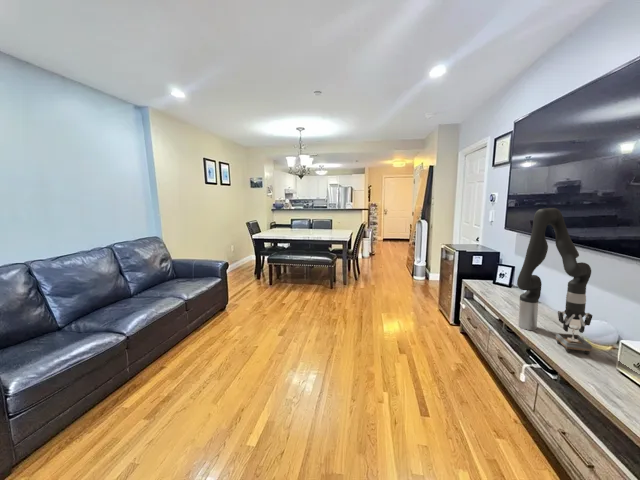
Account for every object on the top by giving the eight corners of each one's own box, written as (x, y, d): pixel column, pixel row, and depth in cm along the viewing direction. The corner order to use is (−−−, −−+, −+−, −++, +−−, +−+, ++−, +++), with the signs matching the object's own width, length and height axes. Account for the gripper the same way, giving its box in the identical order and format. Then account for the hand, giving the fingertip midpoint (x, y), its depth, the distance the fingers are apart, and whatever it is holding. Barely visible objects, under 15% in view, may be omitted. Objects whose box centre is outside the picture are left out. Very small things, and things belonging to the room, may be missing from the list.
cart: (555, 342, 154) (555, 332, 153) (577, 344, 151) (578, 334, 150) (566, 353, 142) (567, 343, 142) (591, 355, 139) (591, 345, 139)
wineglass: (564, 339, 146) (566, 318, 145) (566, 336, 150) (567, 314, 149) (579, 343, 142) (581, 321, 141) (580, 339, 146) (582, 317, 145)
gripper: (588, 299, 145) (586, 329, 147) (555, 297, 149) (553, 327, 151) (597, 304, 138) (595, 336, 140) (562, 302, 142) (560, 333, 144)
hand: (573, 331), depth 146 cm, fingers closed on wineglass, 5 cm apart
